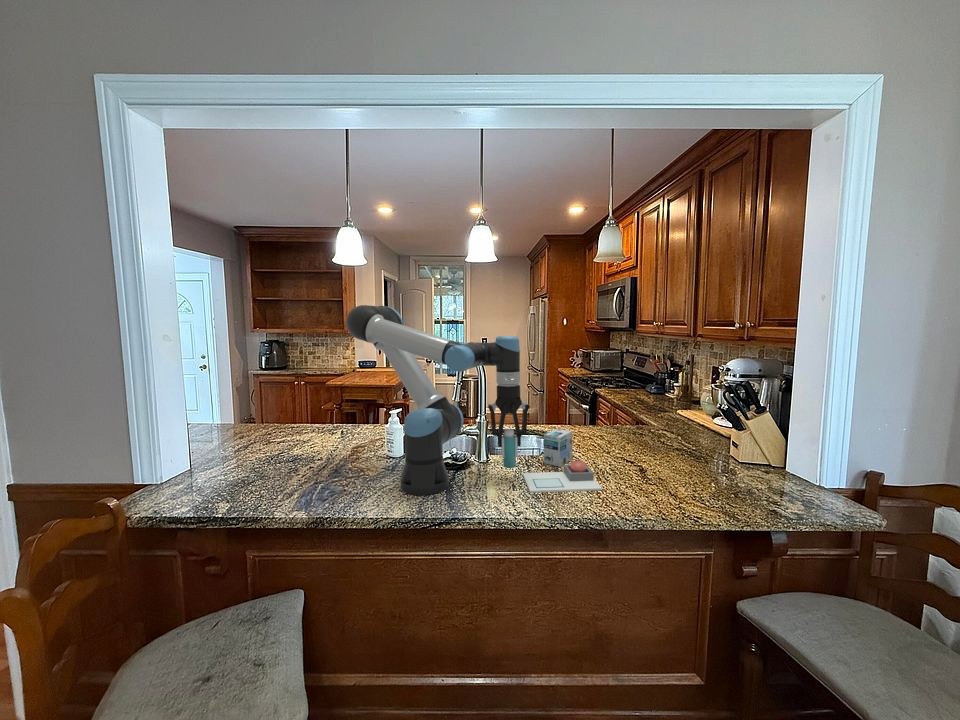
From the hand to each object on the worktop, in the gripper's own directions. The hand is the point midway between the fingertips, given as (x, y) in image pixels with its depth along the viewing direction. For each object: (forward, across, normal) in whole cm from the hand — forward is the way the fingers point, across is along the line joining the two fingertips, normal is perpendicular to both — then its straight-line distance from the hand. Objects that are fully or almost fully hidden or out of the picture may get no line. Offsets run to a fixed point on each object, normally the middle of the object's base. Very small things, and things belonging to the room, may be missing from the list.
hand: (509, 455), depth 128 cm
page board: (+8, +16, -4) cm, 18 cm away
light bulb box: (+8, +20, +15) cm, 26 cm away
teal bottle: (+3, 0, 0) cm, 3 cm away
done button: (+6, +22, -1) cm, 23 cm away
